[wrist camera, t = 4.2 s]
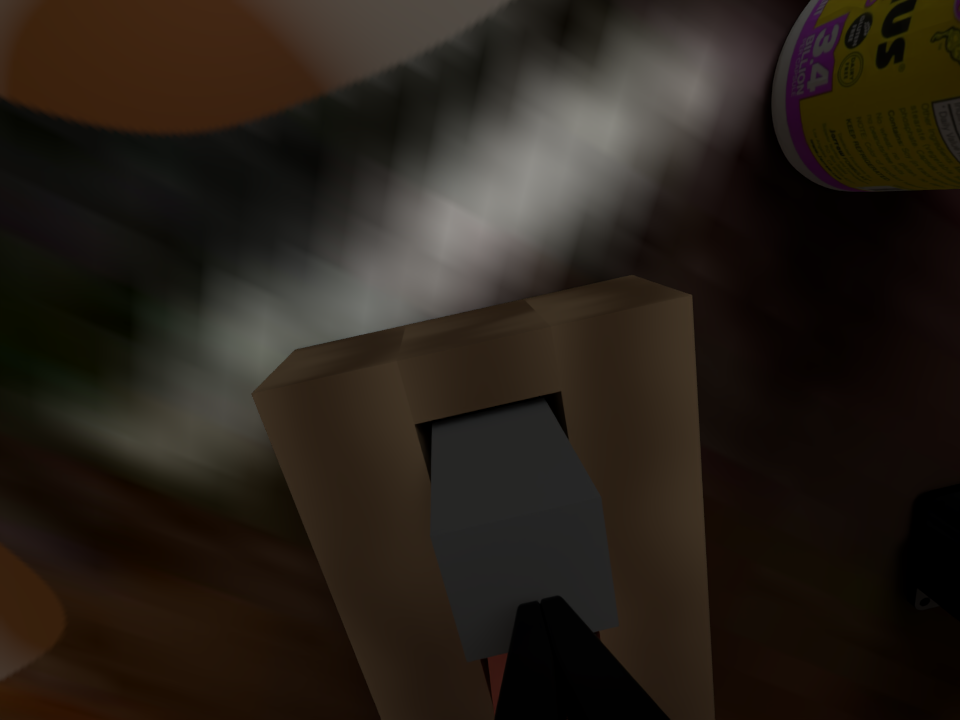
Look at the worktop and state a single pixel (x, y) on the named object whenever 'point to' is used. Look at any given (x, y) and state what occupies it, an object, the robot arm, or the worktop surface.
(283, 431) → the block
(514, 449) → the gray rectangular block
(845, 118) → the supplement bottle
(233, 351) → the worktop surface
